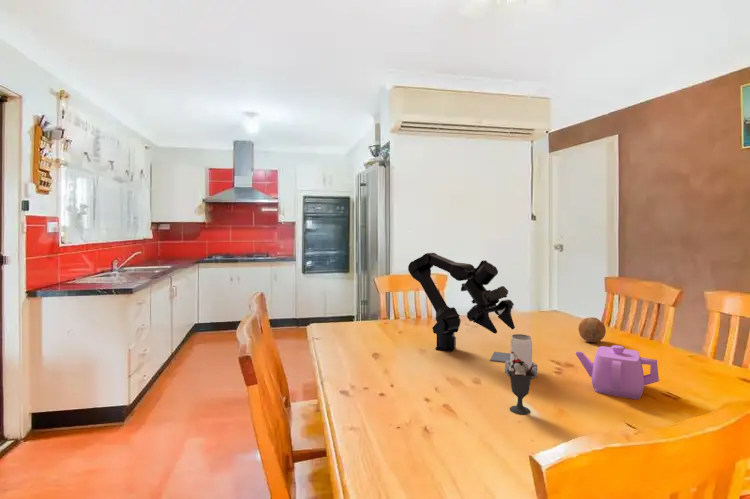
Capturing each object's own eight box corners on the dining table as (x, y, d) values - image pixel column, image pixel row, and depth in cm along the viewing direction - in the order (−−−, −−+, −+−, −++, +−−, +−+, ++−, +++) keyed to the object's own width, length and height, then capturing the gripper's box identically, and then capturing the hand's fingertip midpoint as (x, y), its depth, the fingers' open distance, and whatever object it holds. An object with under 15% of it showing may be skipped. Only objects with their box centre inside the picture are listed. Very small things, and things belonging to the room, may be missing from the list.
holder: (503, 376, 129) (503, 366, 129) (507, 366, 138) (507, 357, 138) (536, 380, 126) (536, 371, 125) (537, 370, 134) (538, 361, 134)
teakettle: (616, 403, 109) (617, 357, 109) (571, 380, 126) (572, 340, 125) (667, 396, 114) (669, 352, 113) (617, 375, 130) (618, 336, 129)
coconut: (598, 338, 172) (599, 315, 171) (610, 345, 162) (610, 320, 161) (574, 338, 172) (574, 314, 172) (584, 345, 163) (584, 320, 162)
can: (533, 377, 128) (534, 339, 127) (511, 376, 129) (512, 338, 129) (530, 370, 134) (530, 334, 134) (509, 369, 136) (509, 333, 135)
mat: (490, 360, 145) (490, 359, 145) (494, 352, 154) (494, 351, 154) (520, 364, 140) (520, 363, 140) (522, 355, 150) (522, 354, 150)
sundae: (501, 405, 109) (502, 349, 108) (526, 404, 109) (527, 348, 108) (512, 416, 102) (512, 357, 101) (538, 415, 103) (539, 356, 102)
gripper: (473, 281, 134) (501, 320, 126) (509, 276, 145) (537, 312, 137) (455, 301, 141) (481, 340, 133) (491, 296, 152) (516, 331, 143)
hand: (505, 330), depth 136 cm, fingers open, 9 cm apart
